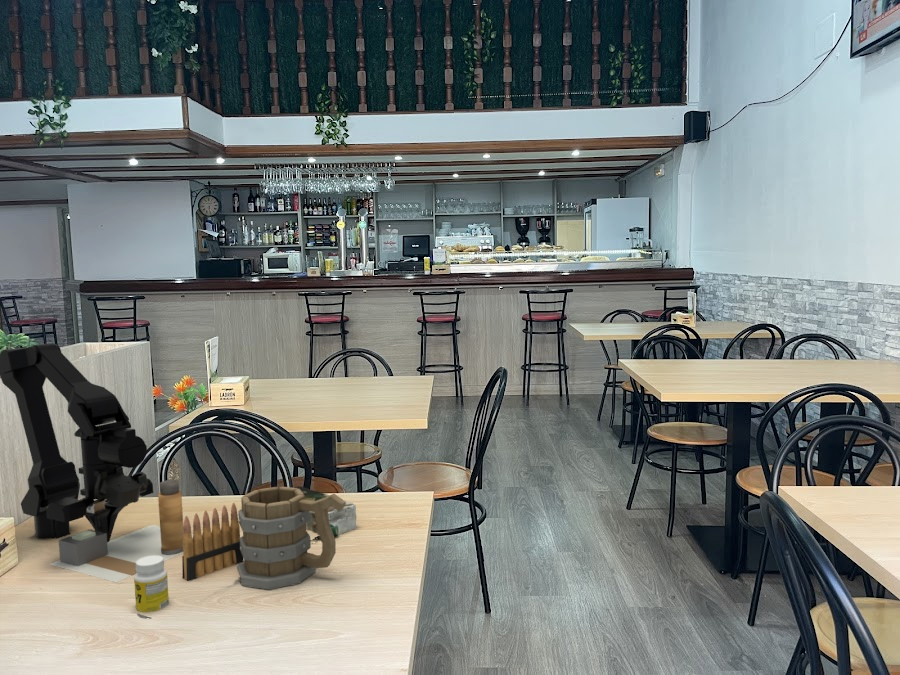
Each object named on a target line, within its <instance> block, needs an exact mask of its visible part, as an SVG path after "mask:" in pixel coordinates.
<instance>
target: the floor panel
mask: <svg viewBox="0 0 900 675" xmlns="http://www.w3.org/2000/svg"><path fill="white" fill-rule="evenodd" d="M191 534H192V539H193V532H191ZM107 547H108V555H105V556H103V557H100V558H98V559H95V560H93V561H90V562H88V563H85V564H83V565H80V566H75V565H71V564H67V563H63V562H60V559H59V560H56V561H54V562H51V563H49V565H51V566H55V567H58V568H62V569H66V570H68V571H73V572H77V573H80V574H82V575H88V576H90V577H94V578H98V579H102V580H105V581H109V582H112V583H118V582H121V581H124V580H125V579H128V578H130V577H132V576H135V574H136V573H137V572H136V561H137V560H139V559H140V558H143V557H146V556H153V555H157V556H162V557H163V559H164V562H166V561H168V560H170V559H172V558H175V557H177V556H180V555H181V554H183V552H181V553H178V554H174V555H164V554H162V553H161V533H160V525H154V524H150V525H148V526H145V527H143V528H140V529H138V530H135V531H131V532H129V533H127V534H124V535H122V536H119V537H117V538H114V539H111V540H110V541H109V542H107Z"/></svg>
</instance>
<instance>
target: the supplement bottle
mask: <svg viewBox="0 0 900 675" xmlns="http://www.w3.org/2000/svg"><path fill="white" fill-rule="evenodd" d="M164 567H165V561H164V559H163V557H162V556H157V555H153V556H146V557H143V558H140V559H139V560H137V561H136V572H137V573H136V574H135V575H134V577H133V579H134V594H135V595H134V596H135V608H136V610H137V611H138V612H141V613H150V612H156V611H159V610H162V609H163V608H165V607H167V606H168V605H169V603H170V599H169V583H168V581H169V580H168V571H167V570H166V568H164ZM136 615H137V616H138V617H139V618H141V619H146V620H147V618H149V619H152V617H150V616H147V615H144V614H140V613H136Z"/></svg>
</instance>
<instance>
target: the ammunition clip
mask: <svg viewBox="0 0 900 675" xmlns="http://www.w3.org/2000/svg"><path fill="white" fill-rule="evenodd" d="M211 515H212V516H211V517H212V518H211V519H212V520H210V516H209V513H208V511H207V510H204V513H203V515H202V516H203V517H202V527H201V520H200V517H199V514H198V513H197V512H195V514H194V518H193V524H192V526H191V523H190V522H191V521H190V519H189V516H187V515H186V516H185V517H184V518H183V531H184V533H183V553H182V554H183V555H182V556H181V558H182V559H181V560H182V564H181V565H182V571H181V573H182V580H183V579H184V580H185V581H187V582H190V581H192V580H195V579H197V578H199V577H203V576H205V575H206V574H212V573H214V572H215V571H220V570H223V569H224V568H229V567H232V566H233V565H234V566H237V565H239V564H240V563H242V562H243V561H244V558H243V555H242V553H241V551H240V538H241V530H240V528H241V526H240V524H239V522H238V521H239V516H238V509H237V506H236V503H235V502H233V503H232V505H231V508H230V519H229V511H228V509H227V507H226V504H225V505H223V506H222V509H221V526H220V517H219V512H218V510H217V508H216V507H214V508H213V512H212V514H211ZM229 520H230V521H229ZM211 523H212V524H211ZM201 528H202V529H201ZM191 533H193V539H192V534H191Z"/></svg>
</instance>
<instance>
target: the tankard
mask: <svg viewBox="0 0 900 675" xmlns="http://www.w3.org/2000/svg"><path fill="white" fill-rule="evenodd" d="M329 495H330V496H328V497H325V498H323V499H320V500H317V501H310V500H305V495H304V494H303V493H302V491H301V490H300V489H298V488H294V487H289V486H273V487H267V488H266V487H265V488H260V489H259V488H258V489H257V490H256V489H255V490H252V491H251V492H249V493H246V494H244V495H243V496H241V498H240V499H241V500H240V501H241V509H238V510H237V514H238V523H239V527H240V528H241V531H242V536H240V551H241V553H242V555H243V560H244V561H243V562H242V563H239V564H236V569H237V573H238V574H239V577H238V579H239V581H240V584H241V586H244V587H249V588H256V589H260V588H261V590H266V589H267V590H266V591H269V589H270V590H273V589H274V590H275V589H279V588H285V587H290V586H294V585H295V586H296V585H299V584H300V583H302V582H303V581H305V580H306V579H307V578H308V577H310V576H311V575H312V574H314V573H315V572H316V571H317V569H320V568H323V569H325V568H328V567H330V565H331V563H332V561H333V559H334V557H335V555H336V550H337V549H336V538H335V535H333V532H332V530H331V527H330V524H329V516H328V509H327V508H329V507H331V506H332V507H334V508H335V509H336V510H338V511H341V510H342V509H343V508H344V506H345V504H346V502H345V501H346V500H344V499H342V498H341V497H340V496H338V495H337V494H336V493H332V494H329ZM309 511H312V512H315V520H316V527H317V530H318V532H319V535H320V538H321V540H320V541H321V544H322V546H321V554H318V555H317V554H314V553H310V552H308V551H309V550H310V549H311V548H312V547H311V535H310V534H309V533H308V531H307V529H306V523H307V522H309V521H310V520H309ZM319 535H318V536H319Z"/></svg>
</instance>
